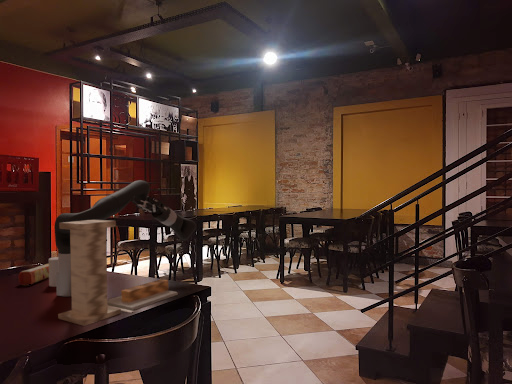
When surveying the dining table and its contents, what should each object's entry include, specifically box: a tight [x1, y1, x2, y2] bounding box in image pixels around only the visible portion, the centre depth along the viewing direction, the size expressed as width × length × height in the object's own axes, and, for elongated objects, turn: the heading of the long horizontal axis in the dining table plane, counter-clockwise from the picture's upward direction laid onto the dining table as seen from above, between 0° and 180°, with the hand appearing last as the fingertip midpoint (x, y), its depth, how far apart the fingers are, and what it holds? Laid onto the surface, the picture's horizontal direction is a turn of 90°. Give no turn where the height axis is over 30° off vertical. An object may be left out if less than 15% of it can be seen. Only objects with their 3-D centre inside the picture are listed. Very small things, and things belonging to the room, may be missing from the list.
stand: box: [57, 219, 122, 327], centre depth 131 cm, size 14×14×32 cm
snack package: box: [18, 263, 49, 286], centre depth 185 cm, size 21×7×7 cm, turn 177°
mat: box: [107, 289, 179, 311], centre depth 150 cm, size 23×16×1 cm
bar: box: [120, 279, 169, 303], centre depth 152 cm, size 20×4×4 cm, turn 147°
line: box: [107, 305, 135, 314], centre depth 139 cm, size 2×20×1 cm, turn 58°
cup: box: [48, 256, 58, 288], centre depth 176 cm, size 8×8×12 cm
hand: (140, 198), depth 165 cm, fingers open, 8 cm apart
